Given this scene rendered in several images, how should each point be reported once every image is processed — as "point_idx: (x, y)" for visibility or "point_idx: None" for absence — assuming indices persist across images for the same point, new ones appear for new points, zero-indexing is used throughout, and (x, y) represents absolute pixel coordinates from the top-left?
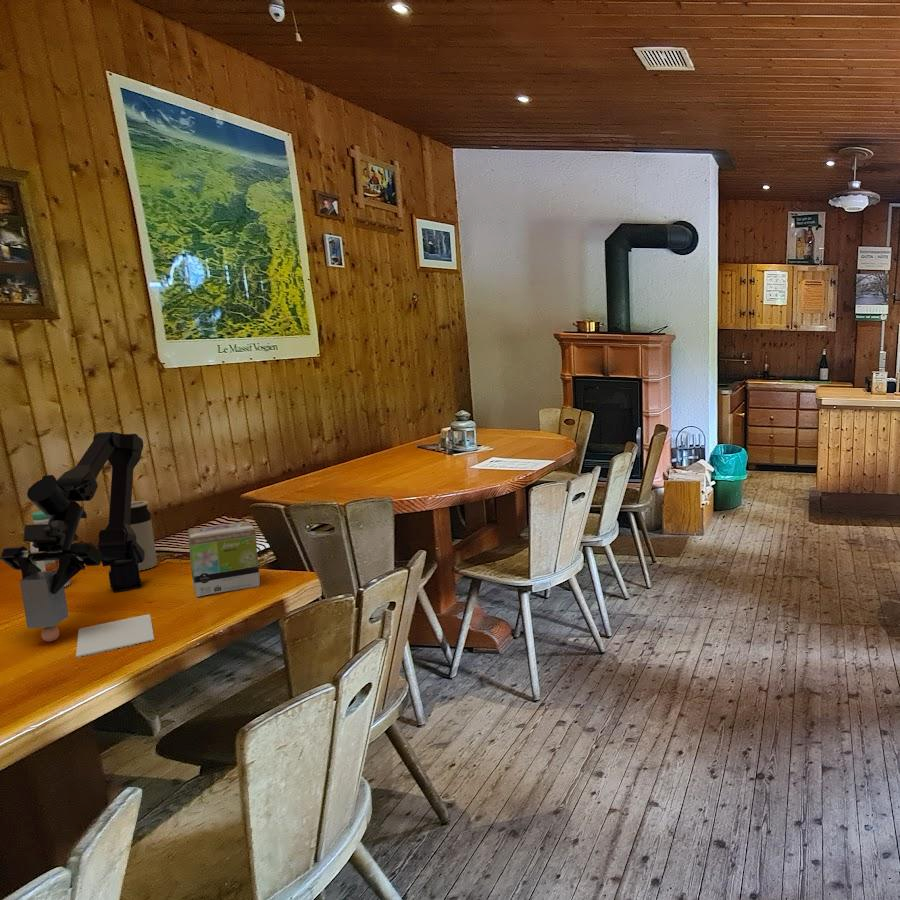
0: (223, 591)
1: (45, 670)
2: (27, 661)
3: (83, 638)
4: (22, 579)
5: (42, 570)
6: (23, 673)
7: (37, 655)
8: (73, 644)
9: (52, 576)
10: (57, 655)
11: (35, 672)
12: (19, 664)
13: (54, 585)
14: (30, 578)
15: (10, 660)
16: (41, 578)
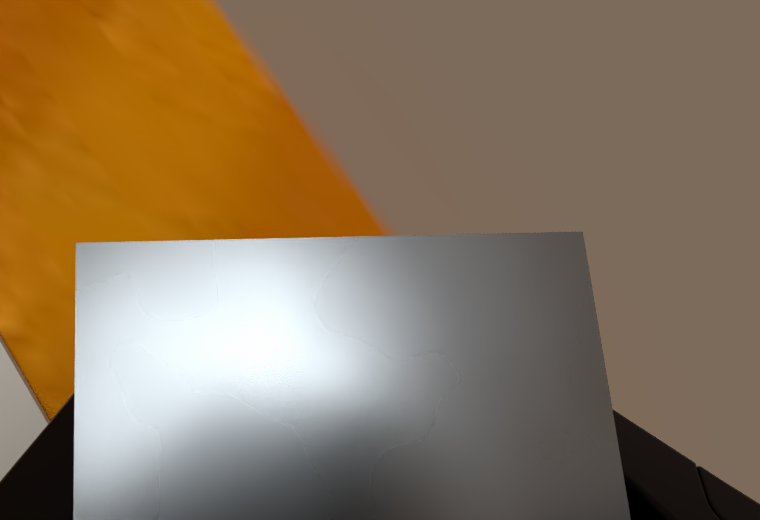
0: None
1: (18, 20)
2: (218, 150)
3: (3, 434)
4: (578, 288)
5: None
6: (137, 9)
7: (210, 222)
8: (55, 368)
9: (75, 487)
10: (69, 208)
11: (68, 7)
12: (240, 120)
13: (69, 426)
14: (470, 326)
15: (330, 175)
16: (224, 300)
